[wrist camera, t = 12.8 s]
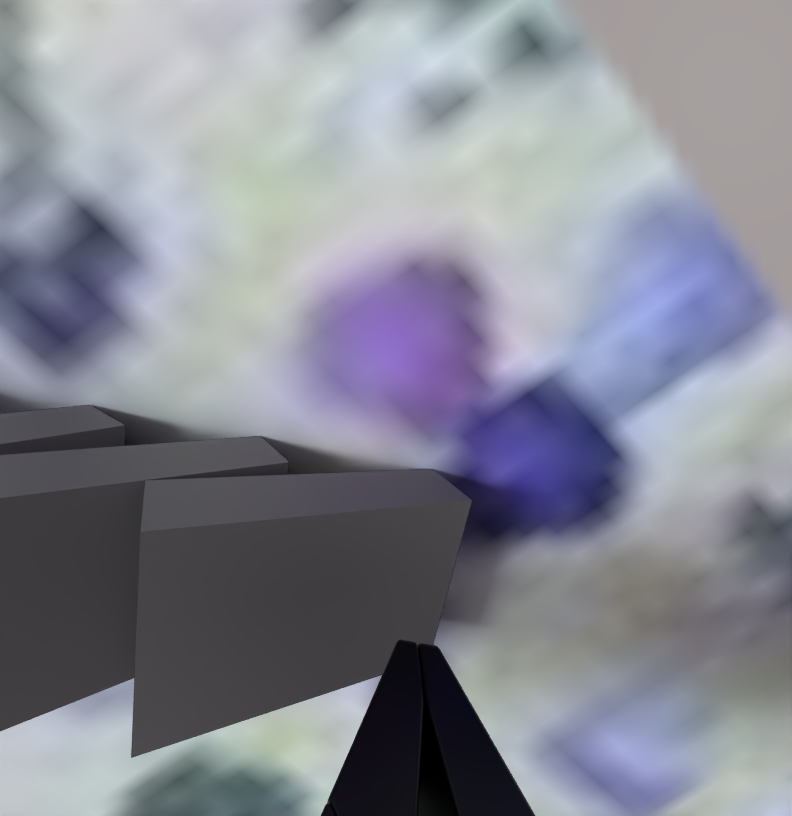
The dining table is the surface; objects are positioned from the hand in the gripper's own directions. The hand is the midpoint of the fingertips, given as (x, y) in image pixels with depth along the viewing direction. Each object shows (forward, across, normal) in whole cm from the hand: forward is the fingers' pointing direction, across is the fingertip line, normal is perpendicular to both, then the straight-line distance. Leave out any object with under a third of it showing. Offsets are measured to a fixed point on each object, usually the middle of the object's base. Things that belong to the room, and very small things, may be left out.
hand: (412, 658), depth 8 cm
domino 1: (+3, +4, 0) cm, 5 cm away
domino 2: (+3, -1, 0) cm, 3 cm away
